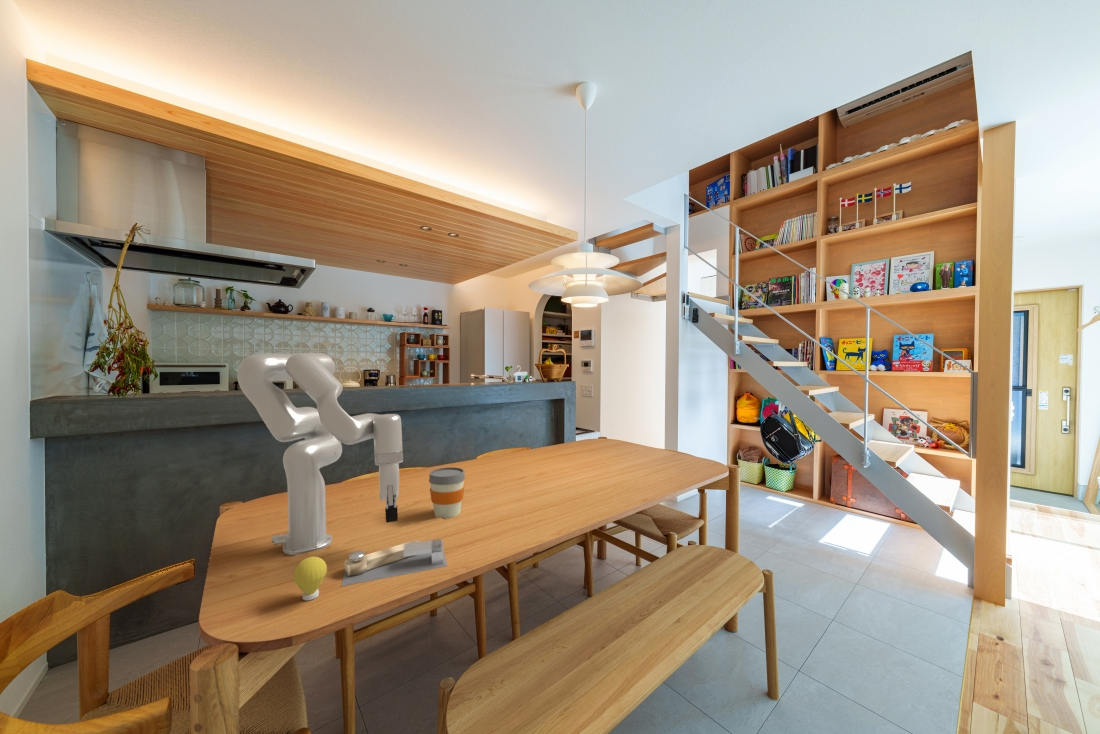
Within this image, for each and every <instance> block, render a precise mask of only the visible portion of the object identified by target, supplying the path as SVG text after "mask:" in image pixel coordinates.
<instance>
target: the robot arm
mask: <svg viewBox="0 0 1100 734" xmlns="http://www.w3.org/2000/svg"><path fill="white" fill-rule="evenodd" d="M335 372H336V364H335V362H334V360H333V358H331V356H329V355H328V354H325V353H322V352H298V353H271V352H269V353H268V352H267V353H265V352H264V353H256V354H252V355H248V356H246V357H245V358H244V359H242V361H241V362H240V363H239V365H238V368H237V373H236V374H237V376H236V377H237V382H238V385H239V387H240V390H241V391H242V393H243V394H244V396H245V397H246V398H247V399H248V400H249V401H250V403H251V404H252V405H253V406H254V407H255V410H256V412H258V414H259V416H260V418H261V419H262V421H263V422H264V424H265V426H266V427H267V429H268V430H269V433H270V434H271V435H272V436H273V438H274V439H275V440H277V441H278V442H280V443H286V442H292V441H293V442H294V441H297V440H299V441H297V442H295V443H293V444H291V445H289V446H288V447H286V450H285V451H284V453H283V456H282V464H283V468H284V471H285V476H286V485H287V512H288V513H287V514H288V516H287V518H288V532H286V533H284V534H279V535H272V536H271V543H272V544H274V546H277V545H282V544H283V546H282V552H283V553H284V554H285V555H289V556H299V555H303V554H306V553H310V552H314V551H318V550H321V549H325V548H327V547H328V546H330V544H331V543H332V541H333V537H332V536H333V535H331V534H330V533H328V532H327V524H326V523H327V520H326V519H327V517H326V516H327V515H326V514H327V513H326V512H327V510H326V483H325V480H324V477H323V475H322V473H321V471H320V469H321V468H324V467H326V466H329V465H331V464H333V463H335V462H337V461H338V460H339V459H340V457H341V456H342V453H343V445H342V444H344V445H348V446H350V445H356V444H358V443H362V442H365V441H368V440H371V439H373V446H374V447H373V451H374V465H375V466H377V467H378V480H379V481H378V484H379V500H380V502H383V501H385V507H384V509H385V513H384V514H385V523H393V522H397V521H399V517H398V515H399V514H398V505H397V499H398V498H399V492H400V463H403V462H404V453H403V452H404V451H403V430H402V429H403V428H402V418H401V416H400V415H399V414H397V413H386V414H378V413H372V412H371V413H362V414H357V415H353V416H351V415H349V414H348V413H347V412H346V411H345V410H344V409H343V408H342V406H341V405H340V404H339V402H338V398H339V396H340V395H341V394H342V392H343V387H344V386H343V384H342V382H341V381H339V380H338V378H336V377H335V376H334V374H335ZM281 381H283V382H284V381H294V382H295V384H297V385H298V386H299V388H301V389H302V391H303V392H304V393H306V395H308V396H309V397H310V398H311V399H312V400H313V401H314V402H315V404H316V408H315V407H313V406H301V407H296V406H295V405H294V404H293V402H292V401H291V400H290V398H289V396H288V395H287V393H286V392H284V390H282V389H281V388H279V387H278V386H276V384H274V383H273V382H281ZM301 439H302V440H301ZM303 439H304V440H303Z"/></svg>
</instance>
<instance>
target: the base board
mask: <svg viewBox="0 0 1100 734" xmlns="http://www.w3.org/2000/svg"><path fill="white" fill-rule="evenodd" d="M445 567H448V563H447V560H446V555H445V551H444V550H443V563H442V564H435V565H432V553H428V554H421V555H414V556H410V557H407V558H403V559H400V560H397V561H394V562H391V563H388V564H385V565H381V566H378V567H375V568H372V569H369V570H366V571H365V572H363V573H361V574H358V575H350V576H348V575H347V574H346V572H345V571H344V572H343V577H342V582H341V586H340V587H345V586H346V587H347V586H350V585H356V584H362V583H367V582H373V581H377V580H381V579H387V578H393V577H398V576H404V575H408V574H409V575H410V574H414V573H419V572H423V571H424V572H425V571H429V570H435V569H440V568H445Z"/></svg>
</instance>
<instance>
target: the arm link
mask: <svg viewBox="0 0 1100 734" xmlns="http://www.w3.org/2000/svg"><path fill="white" fill-rule="evenodd" d="M415 542H420V541H419V540H418V539H415V540H411V541H408V542H404V543H401V544H398V545H395V546H391V547H387V548H384V549H381V550H377V551H375V552H370V553H368V554H364V557H362V560H361V561H358V562H352V561H351V560H350V559H349V558H348V559H346V560H345V561H344V572H346V574H347V575H348V576H350V575H358V574H361V573H363V572H365V571H366V570H369V569H372V568H375V567H378V566H381V565H385V564H388V563H391V562H394V561H397V560H400V559H403V558H407V557H410V556H406V557H404V545H405V544H407V543H415Z"/></svg>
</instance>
